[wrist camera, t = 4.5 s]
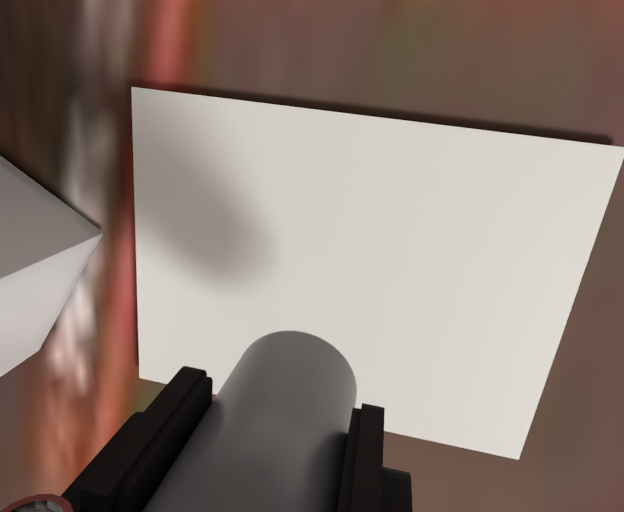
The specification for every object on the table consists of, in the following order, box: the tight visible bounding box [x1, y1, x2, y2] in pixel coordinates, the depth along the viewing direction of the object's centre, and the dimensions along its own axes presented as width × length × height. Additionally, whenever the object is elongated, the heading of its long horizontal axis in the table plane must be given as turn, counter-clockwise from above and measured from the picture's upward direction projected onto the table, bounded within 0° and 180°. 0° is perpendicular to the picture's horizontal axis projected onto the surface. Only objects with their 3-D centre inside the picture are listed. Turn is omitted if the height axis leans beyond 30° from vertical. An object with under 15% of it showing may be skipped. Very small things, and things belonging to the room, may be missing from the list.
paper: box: [131, 87, 624, 460], centre depth 16 cm, size 16×12×1 cm
